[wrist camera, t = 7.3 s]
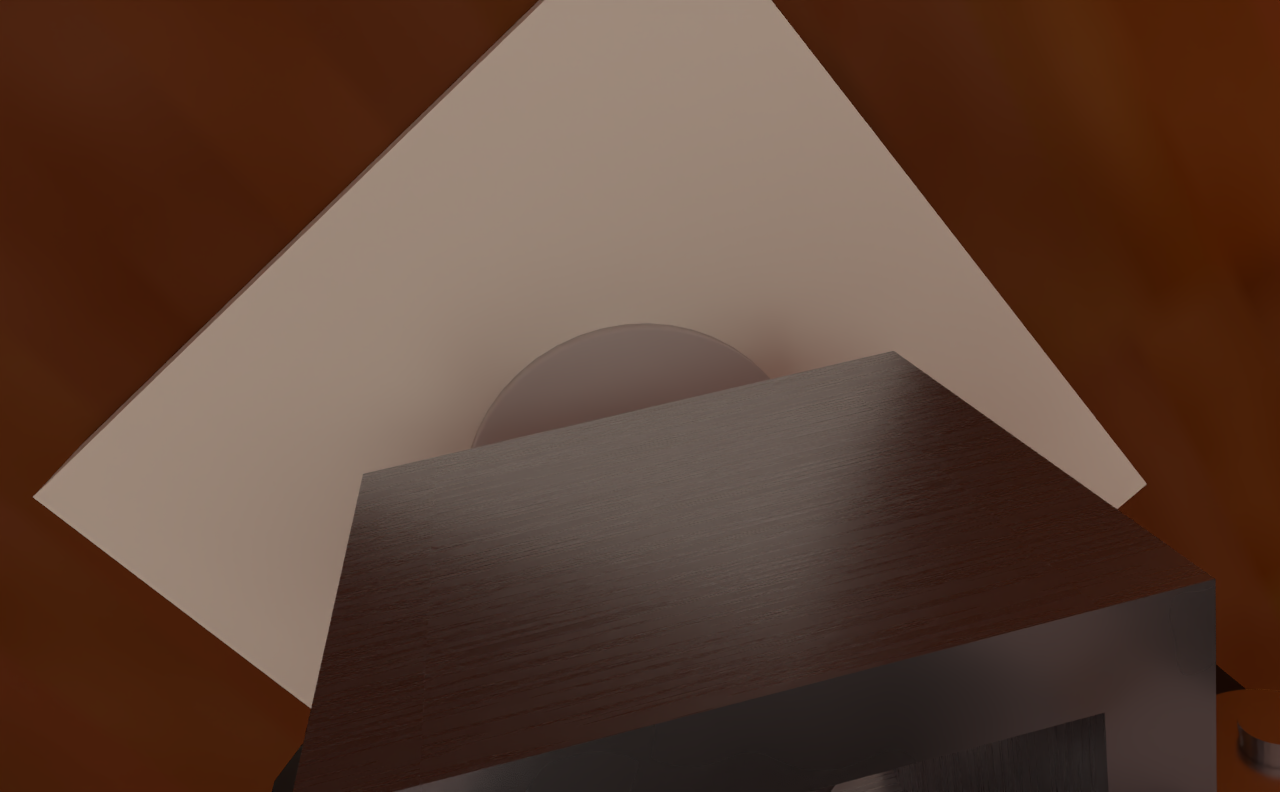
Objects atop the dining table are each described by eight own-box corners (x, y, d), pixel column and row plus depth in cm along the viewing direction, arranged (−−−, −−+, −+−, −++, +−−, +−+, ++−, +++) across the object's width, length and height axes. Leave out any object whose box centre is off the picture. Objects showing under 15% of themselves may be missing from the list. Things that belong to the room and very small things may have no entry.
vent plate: (80, 446, 17) (-225, 774, 9) (648, -106, 16) (822, -240, 8) (597, 856, 21) (677, 1316, 13) (1081, 441, 20) (1466, 689, 12)
